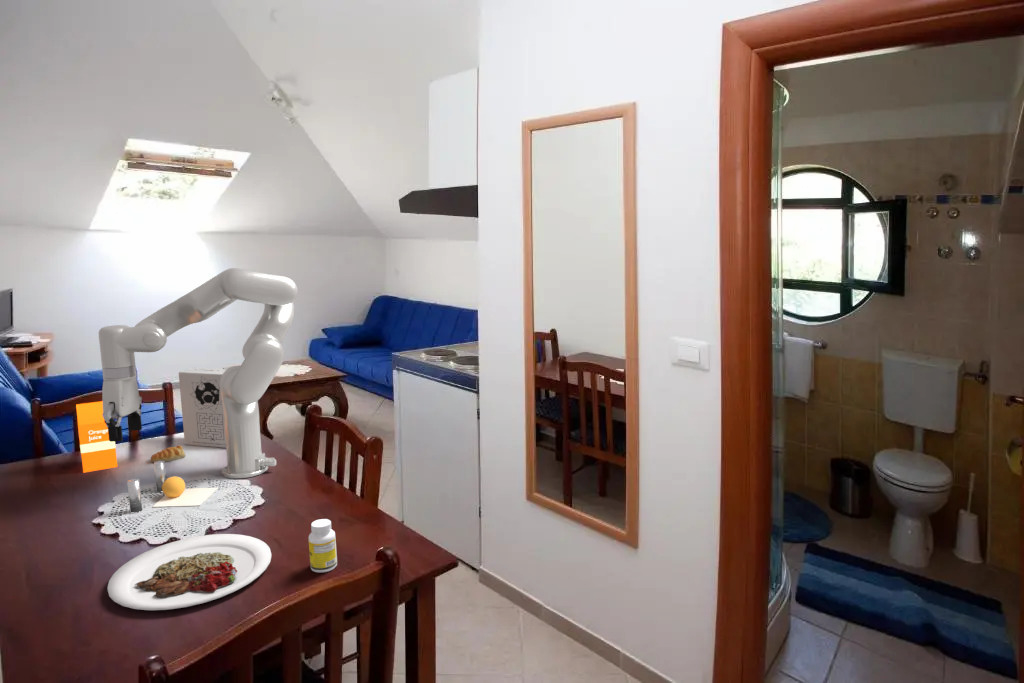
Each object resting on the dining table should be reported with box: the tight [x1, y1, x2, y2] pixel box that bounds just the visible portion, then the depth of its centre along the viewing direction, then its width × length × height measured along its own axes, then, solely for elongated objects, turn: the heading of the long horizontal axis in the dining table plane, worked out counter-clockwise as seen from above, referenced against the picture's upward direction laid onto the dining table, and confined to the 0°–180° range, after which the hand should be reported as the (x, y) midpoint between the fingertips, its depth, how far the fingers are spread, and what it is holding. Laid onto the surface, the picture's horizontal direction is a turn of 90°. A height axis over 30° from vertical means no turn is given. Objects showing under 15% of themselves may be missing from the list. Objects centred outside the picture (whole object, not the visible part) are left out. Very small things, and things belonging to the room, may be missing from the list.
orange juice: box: [75, 400, 118, 474], centre depth 194 cm, size 8×9×20 cm
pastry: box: [150, 445, 186, 463], centre depth 201 cm, size 9×7×4 cm
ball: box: [162, 475, 186, 498], centre depth 171 cm, size 6×6×6 cm
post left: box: [126, 478, 143, 513], centre depth 162 cm, size 3×3×8 cm
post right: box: [153, 461, 167, 493], centre depth 176 cm, size 3×3×8 cm
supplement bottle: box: [308, 518, 338, 574], centre depth 134 cm, size 5×5×10 cm
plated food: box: [107, 533, 272, 611], centre depth 132 cm, size 30×30×3 cm
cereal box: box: [178, 367, 228, 449], centre depth 215 cm, size 22×8×25 cm, turn 77°
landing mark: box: [151, 487, 219, 508], centre depth 171 cm, size 12×12×1 cm
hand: (126, 435), depth 172 cm, fingers open, 9 cm apart
